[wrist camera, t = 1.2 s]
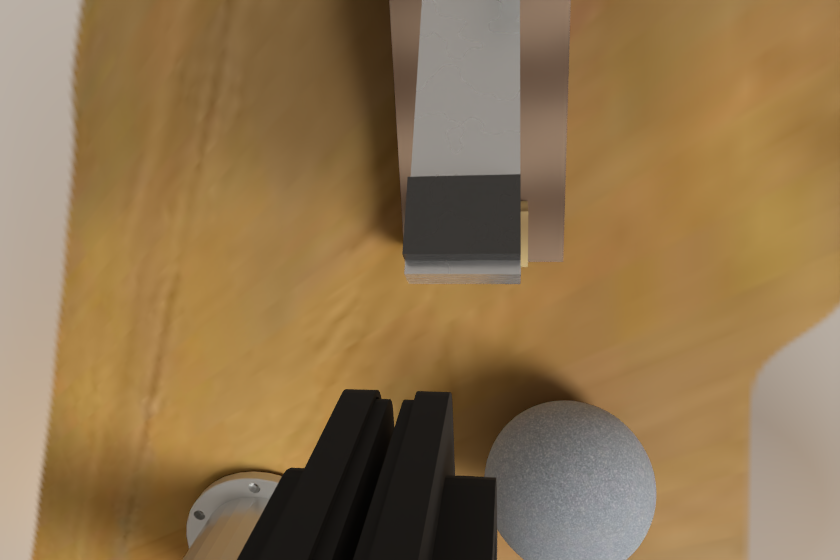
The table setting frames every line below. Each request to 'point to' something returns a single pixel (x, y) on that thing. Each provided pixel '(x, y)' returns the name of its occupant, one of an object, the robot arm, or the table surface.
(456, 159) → the grey flat bar
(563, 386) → the table surface
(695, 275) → the table surface
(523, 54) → the mount block
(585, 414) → the decorative stone
